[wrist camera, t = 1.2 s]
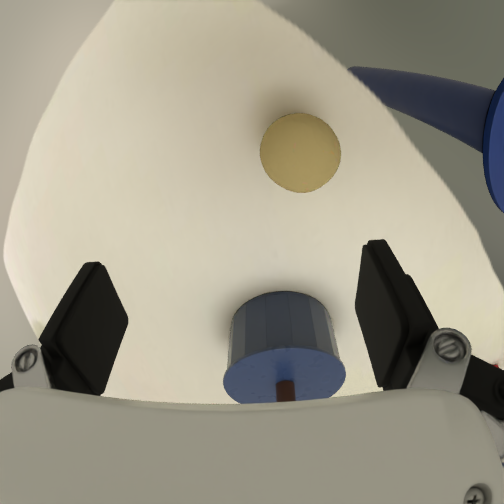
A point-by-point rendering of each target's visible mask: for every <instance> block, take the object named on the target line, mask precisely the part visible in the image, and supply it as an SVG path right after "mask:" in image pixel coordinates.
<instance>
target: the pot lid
mask: <svg viewBox="0 0 504 504" xmlns="http://www.w3.org/2000/svg"><path fill="white" fill-rule="evenodd" d="M345 377H346V372H345V367H344V365H343V363H342V361H341V360H340V359H339V358H338V357H337V356H335V355H334V354H332V353H330V352H328V351H326V350H323V349H320V348H316V347H311V346H303V345H283V346H274V347H269V348H264V349H260V350H257V351H254V352H251V353H249V354H246V355H244V356H242V357H240V358H239V359H237V360H236V361H234V362H233V363H232V364H231V365H230V366H229V367H228V369H227V370H226V372H225V374H224V378H223V385H224V388H225V390H226V392H227V394H228V395H229V396H230V397H231V398H232V399H234V400H235V401H237V402H238V403H240V404H253V403H275V402H290V401H303V400H313V399H323V398H329V397H331V396H332V395H333V394H335V393H336V392H337V391H338V390H339V389H340V388H341V386H342V385H343V383H344V381H345Z"/></svg>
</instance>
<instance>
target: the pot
mask: <svg viewBox="0 0 504 504" xmlns="http://www.w3.org/2000/svg"><path fill="white" fill-rule="evenodd" d="M283 345H303V346H311V347H316V348H320V349H323V350H326V351H328V352H330V353H332V354H334V355H335V356H337V357H338V358H339V359H340V357H339V353H338V348H337V344H336V339H335V335H334V331H333V326H332V322H331V318H330V316H329V314H328V312H327V310H326V308H325V307H324V306H323V305H322V304H321V303H320V302H319V301H318V300H316V299H314V298H312V297H311V296H308V295H305V294H302V293H298V292H290V291H280V292H272V293H267V294H263V295H260V296H257V297H255V298H253V299H251V300H249V301H248V302H246V303H245V304H244V305H242V306H241V307H240V308H239V309H238V310H237V312H236V313H235V315H234V317H233V319H232V323H231V327H230V337H229V350H228V364H227V369H228V367H229V366H230V365H231V364H232V363H233V362H234V361H236V360H237V359H239V358H240V357H242V356H244V355H246V354H249V353H251V352H254V351H257V350H260V349H264V348H269V347H274V346H283Z"/></svg>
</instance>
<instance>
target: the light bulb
mask: <svg viewBox="0 0 504 504" xmlns="http://www.w3.org/2000/svg"><path fill="white" fill-rule="evenodd" d="M260 158H261V162H262V165H263V168H264V170H265V172H266V173H267V174H268V176H269V177H270V178H271V179H272V180H273V181H274V182H275V183H276V184H278V185H279V186H281V187H283V188H285V189H286V190H290V191H293V192H297V193H306V192H311V191H314V190H316V189H318V188H320V187H322V186H323V185H324V184H326V183H327V182H328V181H329V180H330V179H331V178H332V177H333V175H334V174H335V172H336V171H337V169H338V167H339V164H340V159H341V150H340V144H339V141H338V139H337V136H336V135H335V133H334V132H333V130H332V129H331V128H330V127H329V125H328V124H327V123H325V122H324V121H323V120H321V119H319V118H317V117H315V116H313V115H310V114H305V113H294V114H289V115H286V116H283V117H281V118H280V119H278V120H276V121H275V122H274V123H273V124H272V125H270V127H269V128H268V129H267V131H266V132H265V134H264V136H263V139H262V142H261V146H260Z"/></svg>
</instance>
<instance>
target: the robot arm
mask: <svg viewBox="0 0 504 504" xmlns="http://www.w3.org/2000/svg"><path fill="white" fill-rule="evenodd" d="M355 311H356V314H357V317H358V321H359V324H360V327H361V330H362V334H363V337H364V340H365V344H366V347H367V350H368V354H369V357H370V361H371V364H372V368H373V371H374V375H375V379H376V382H377V385H378V387H383V391H380V392H371V393H365V394H358V395H350V396H342V397H333V398H323V399H313V400H303V401H290V402H275V403H253V404H189V403H167V402H152V401H140V400H129V399H119V398H111V397H103V396H100V395H101V394H103V393H104V391H105V388H106V385H107V382H108V379H109V376H110V373H111V370H112V367H113V364H114V361H115V358H116V356H117V353H118V350H119V347H120V344H121V342H122V339H123V336H124V334H125V331H126V328H127V326H128V316H127V314H126V312H125V309H124V307H123V305H122V303H121V301H120V299H119V297H118V295H117V292H116V290H115V288H114V286H113V283H112V281H111V279H110V277H109V274H108V272H107V270H106V268H105V266H104V265H102V264H101V263H100V262H87V263H85V264H84V265H83V266H82V268H81V269H80V271H79V272H78V274H77V275H76V277H75V278H74V280H73V282H72V283H71V285H70V286H69V288H68V290H67V291H66V293H65V294H64V296H63V298H62V299H61V301H60V303H59V304H58V306H57V308H56V309H55V311H54V313H53V314H52V316H51V318H50V320H49V321H48V323H47V325H46V327H45V329H44V330H43V332H42V334H41V336H40V338H39V341H40V343H41V344H42V346H41V348H39V347H38V346H37V345H27V346H25V347H23V348H22V349H20V350H19V351H18V352H17V353H16V355H15V356H14V359H13V361H12V367H11V368H12V372H11V373H10V374H8V375H7V376H5V377H4V378H2V379H1V380H0V504H504V370H502V369H500V368H498V367H496V366H494V365H491V364H489V363H487V362H485V361H483V360H481V359H479V358H477V357H475V356H473V355H471V345H470V342H469V340H468V339H467V337H466V336H465V335H464V334H462V333H461V332H459V331H458V330H456V329H452V328H441V329H439V328H438V326H437V324H436V322H435V320H434V318H433V316H432V314H431V312H430V310H429V309H428V307H427V305H426V303H425V301H424V299H423V297H422V295H421V294H420V292H419V290H418V288H417V286H416V285H415V283H414V281H413V279H412V278H411V276H410V275H408V274H405V273H404V271H403V269H402V267H401V266H400V264H399V262H398V260H397V259H396V257H395V255H394V254H393V252H392V250H391V249H390V247H389V245H388V244H387V242H386V241H385V240H384V239H381V240H369V241H368V243H367V245H363V248H362V256H361V264H360V272H359V279H358V286H357V293H356V299H355Z"/></svg>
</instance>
